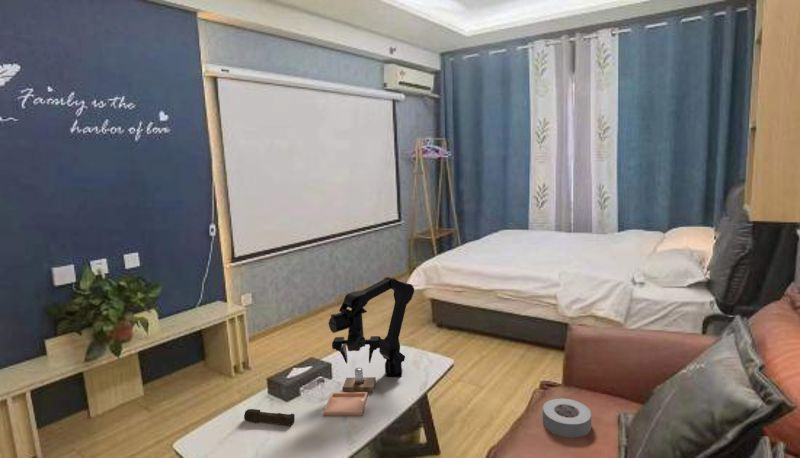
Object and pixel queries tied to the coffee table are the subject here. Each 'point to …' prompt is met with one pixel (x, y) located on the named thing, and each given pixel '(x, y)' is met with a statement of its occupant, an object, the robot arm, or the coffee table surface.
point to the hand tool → (268, 417)
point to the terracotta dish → (346, 404)
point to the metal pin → (359, 376)
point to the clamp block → (366, 387)
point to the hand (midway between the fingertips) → (358, 362)
